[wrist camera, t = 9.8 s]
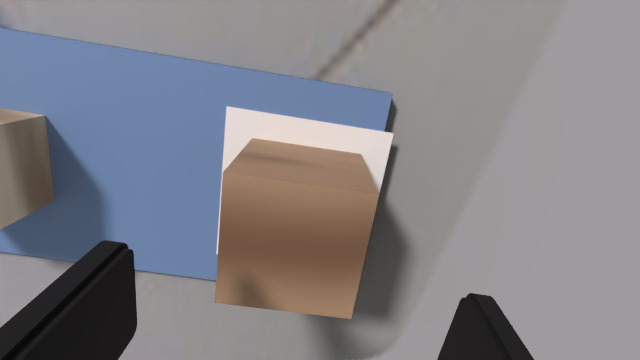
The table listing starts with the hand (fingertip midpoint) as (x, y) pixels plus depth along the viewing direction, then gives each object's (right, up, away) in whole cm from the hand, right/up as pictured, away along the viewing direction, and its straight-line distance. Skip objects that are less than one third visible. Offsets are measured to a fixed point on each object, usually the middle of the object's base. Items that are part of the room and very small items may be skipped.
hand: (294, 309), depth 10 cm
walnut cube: (0, +3, +10) cm, 10 cm away
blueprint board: (-8, +4, +11) cm, 14 cm away
